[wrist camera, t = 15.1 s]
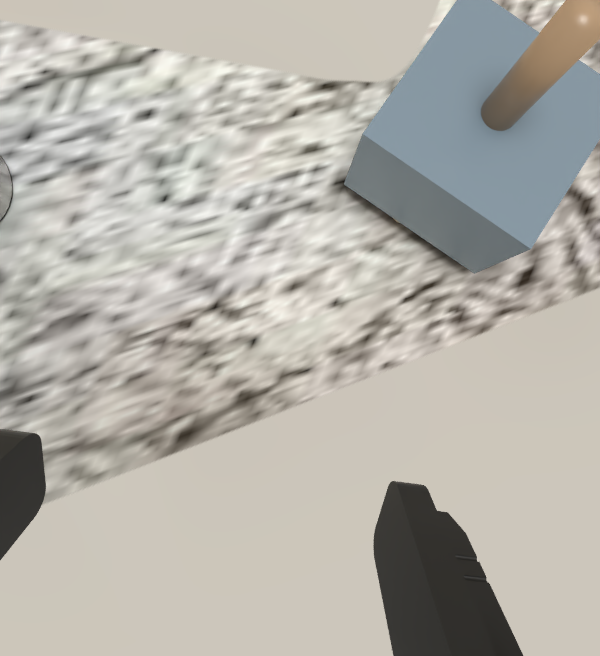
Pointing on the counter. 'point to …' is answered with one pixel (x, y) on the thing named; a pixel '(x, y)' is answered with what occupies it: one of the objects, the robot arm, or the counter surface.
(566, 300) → the counter surface
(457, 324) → the counter surface
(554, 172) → the cover
